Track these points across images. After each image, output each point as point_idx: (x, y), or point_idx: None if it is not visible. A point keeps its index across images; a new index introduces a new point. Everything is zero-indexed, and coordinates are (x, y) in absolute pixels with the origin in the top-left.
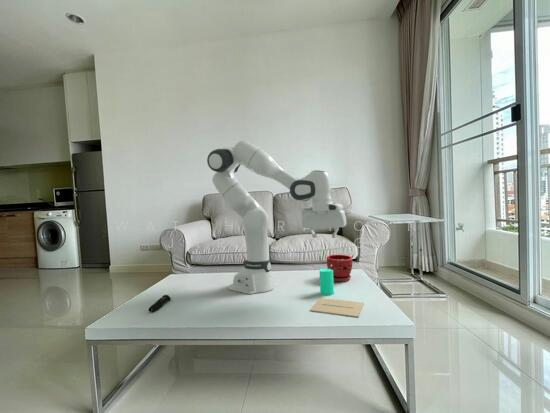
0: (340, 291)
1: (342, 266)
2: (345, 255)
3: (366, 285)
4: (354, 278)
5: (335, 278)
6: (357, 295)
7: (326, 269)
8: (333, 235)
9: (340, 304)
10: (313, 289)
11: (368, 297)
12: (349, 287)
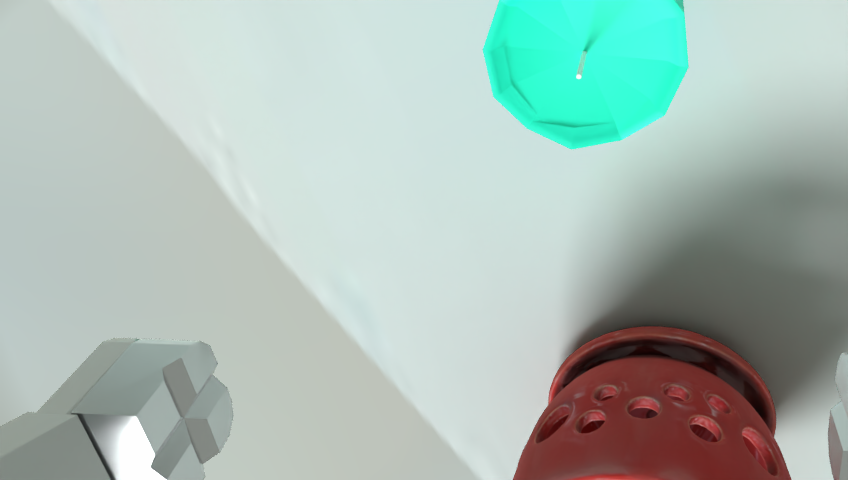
0: None
1: (568, 427)
2: None
3: (385, 315)
4: None
5: (658, 335)
6: (326, 56)
7: (614, 127)
8: (121, 374)
9: None
10: (804, 11)
11: (234, 52)
12: (480, 223)
